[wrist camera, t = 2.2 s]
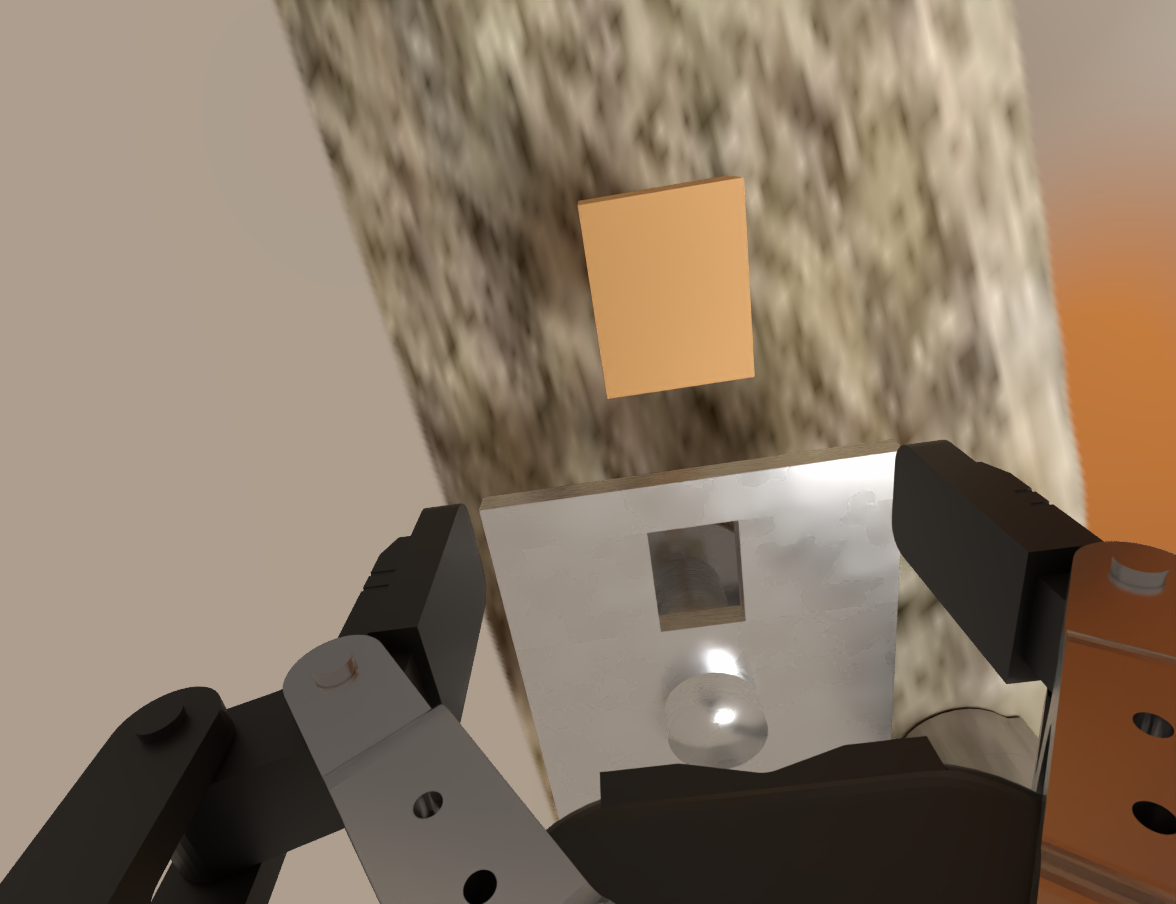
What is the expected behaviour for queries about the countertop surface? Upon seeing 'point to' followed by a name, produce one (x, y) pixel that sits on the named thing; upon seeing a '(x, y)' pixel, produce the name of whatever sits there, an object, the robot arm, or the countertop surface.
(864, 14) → the countertop surface
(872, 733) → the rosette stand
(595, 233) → the orange block
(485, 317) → the countertop surface
